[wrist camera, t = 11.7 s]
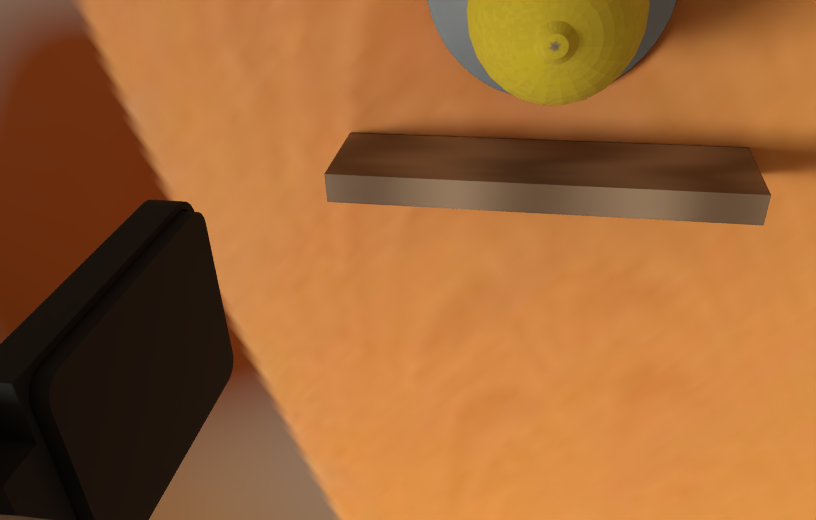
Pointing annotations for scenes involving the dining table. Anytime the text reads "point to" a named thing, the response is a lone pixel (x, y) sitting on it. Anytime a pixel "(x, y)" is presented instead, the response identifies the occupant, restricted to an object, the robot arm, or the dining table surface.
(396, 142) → the walnut wall
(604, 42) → the lemon
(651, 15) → the coaster
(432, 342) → the dining table surface
